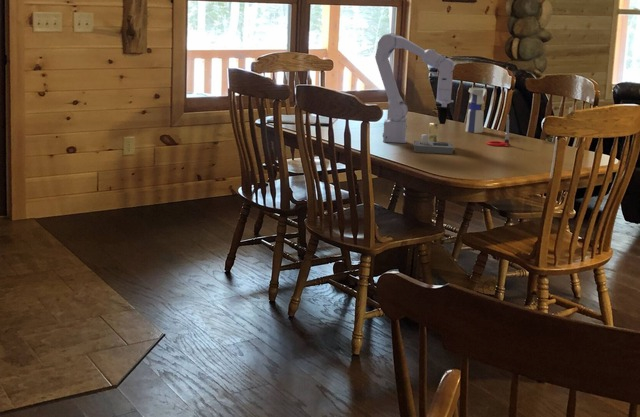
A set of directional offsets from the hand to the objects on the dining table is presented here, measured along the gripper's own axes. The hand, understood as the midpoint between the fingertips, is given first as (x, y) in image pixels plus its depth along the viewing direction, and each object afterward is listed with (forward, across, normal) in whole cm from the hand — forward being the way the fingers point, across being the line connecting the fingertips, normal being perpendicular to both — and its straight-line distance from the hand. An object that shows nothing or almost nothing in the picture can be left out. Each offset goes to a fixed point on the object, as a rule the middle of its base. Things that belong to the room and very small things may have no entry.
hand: (441, 122), depth 353 cm
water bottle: (+10, +40, -18) cm, 44 cm away
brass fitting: (+10, -1, +3) cm, 10 cm away
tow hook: (+10, +8, -24) cm, 27 cm away
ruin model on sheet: (+10, +40, +20) cm, 46 cm away
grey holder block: (+9, -12, +3) cm, 16 cm away
